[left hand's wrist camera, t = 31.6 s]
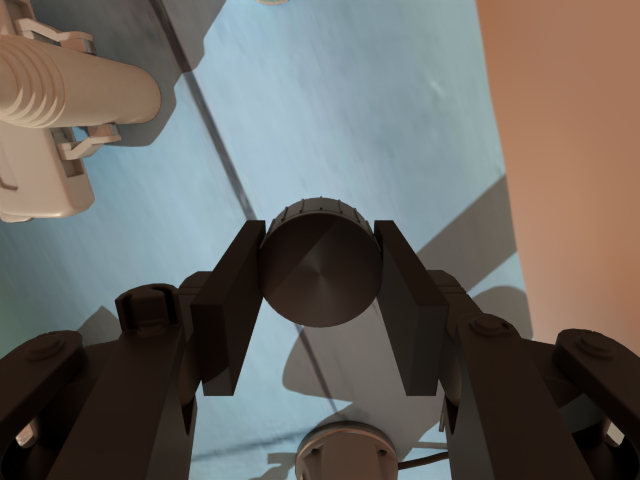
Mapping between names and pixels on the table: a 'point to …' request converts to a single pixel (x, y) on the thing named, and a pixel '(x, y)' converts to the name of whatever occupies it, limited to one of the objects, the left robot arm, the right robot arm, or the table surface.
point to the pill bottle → (271, 2)
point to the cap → (319, 263)
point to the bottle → (70, 87)
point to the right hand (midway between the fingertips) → (103, 89)
